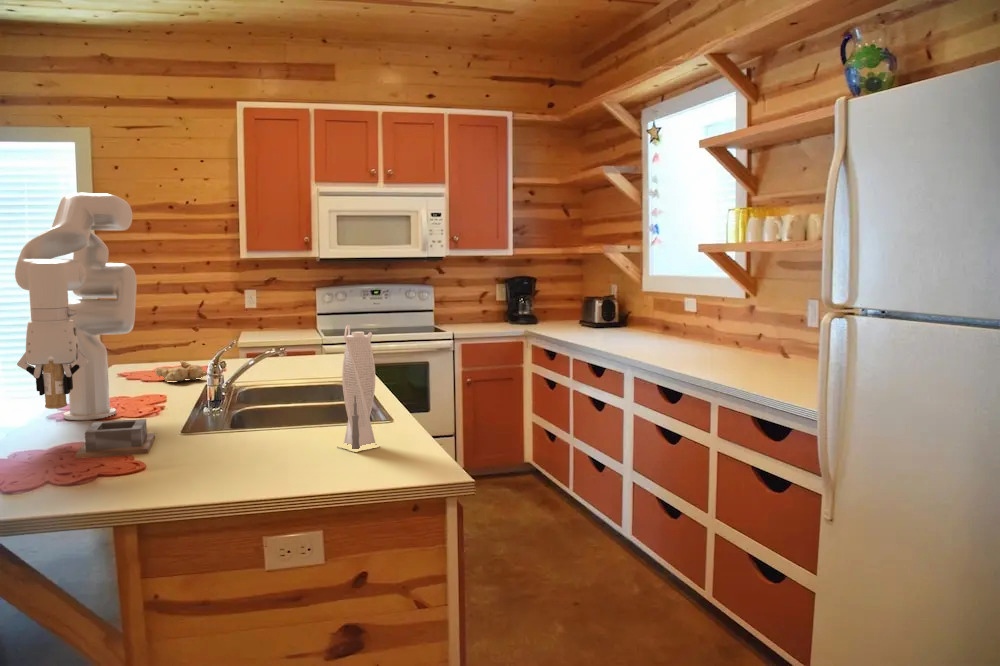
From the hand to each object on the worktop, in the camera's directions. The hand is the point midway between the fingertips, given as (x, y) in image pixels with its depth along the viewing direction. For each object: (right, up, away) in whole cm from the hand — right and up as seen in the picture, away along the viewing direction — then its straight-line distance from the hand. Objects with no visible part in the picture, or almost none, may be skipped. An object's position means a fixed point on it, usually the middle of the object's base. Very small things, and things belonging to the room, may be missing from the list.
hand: (55, 392), depth 173 cm
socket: (+16, -13, -3) cm, 21 cm away
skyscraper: (+71, -12, -1) cm, 72 cm away
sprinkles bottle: (0, -4, 0) cm, 4 cm away
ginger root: (-7, -3, +87) cm, 87 cm away
